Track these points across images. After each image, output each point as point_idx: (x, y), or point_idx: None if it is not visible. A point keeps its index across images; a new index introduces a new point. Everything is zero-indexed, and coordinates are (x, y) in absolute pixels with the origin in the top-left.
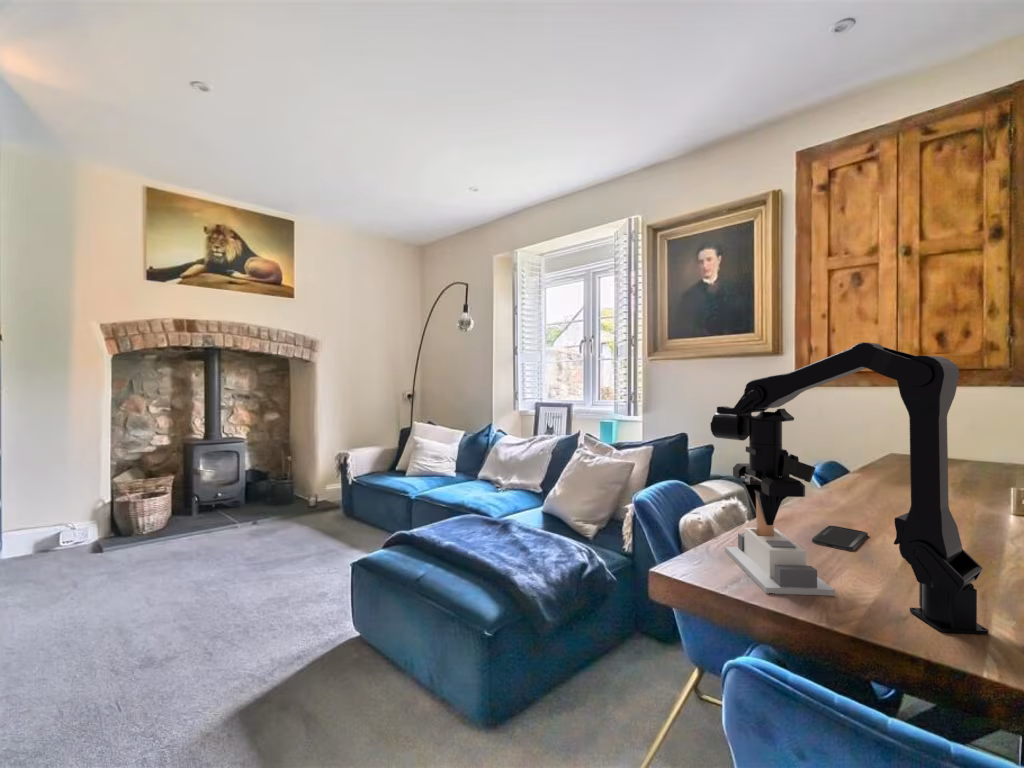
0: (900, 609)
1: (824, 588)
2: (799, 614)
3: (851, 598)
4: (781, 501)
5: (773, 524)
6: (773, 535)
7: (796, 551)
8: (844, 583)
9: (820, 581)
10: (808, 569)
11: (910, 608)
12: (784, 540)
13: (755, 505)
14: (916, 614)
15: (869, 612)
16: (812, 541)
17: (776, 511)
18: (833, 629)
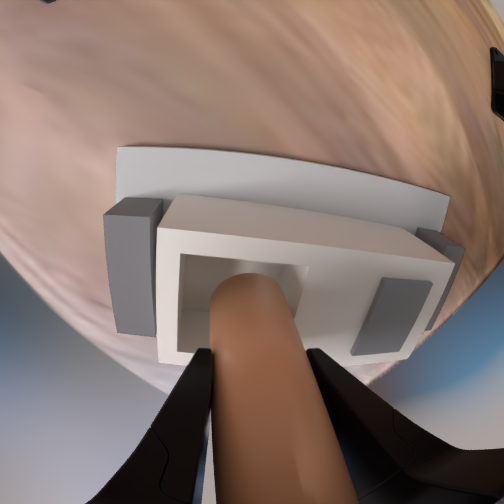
0: (484, 114)
1: (442, 216)
2: (455, 300)
3: (452, 165)
4: (450, 446)
5: (294, 332)
6: (283, 296)
7: (443, 291)
8: (396, 106)
9: (417, 196)
10: (456, 267)
11: (496, 110)
12: (356, 280)
13: (205, 457)
14: (502, 118)
15: (484, 181)
16: (48, 2)
17: (381, 405)
18: (486, 275)
